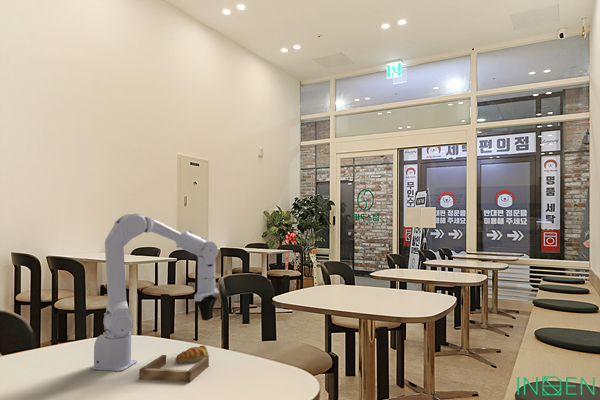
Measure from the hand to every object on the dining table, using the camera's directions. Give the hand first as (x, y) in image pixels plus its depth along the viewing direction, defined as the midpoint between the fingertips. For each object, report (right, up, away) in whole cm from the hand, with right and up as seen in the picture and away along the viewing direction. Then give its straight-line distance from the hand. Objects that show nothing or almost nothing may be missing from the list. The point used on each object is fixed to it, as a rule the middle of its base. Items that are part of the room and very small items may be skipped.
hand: (206, 319), depth 137 cm
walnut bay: (-4, -8, -21) cm, 23 cm away
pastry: (-1, -9, -11) cm, 15 cm away
